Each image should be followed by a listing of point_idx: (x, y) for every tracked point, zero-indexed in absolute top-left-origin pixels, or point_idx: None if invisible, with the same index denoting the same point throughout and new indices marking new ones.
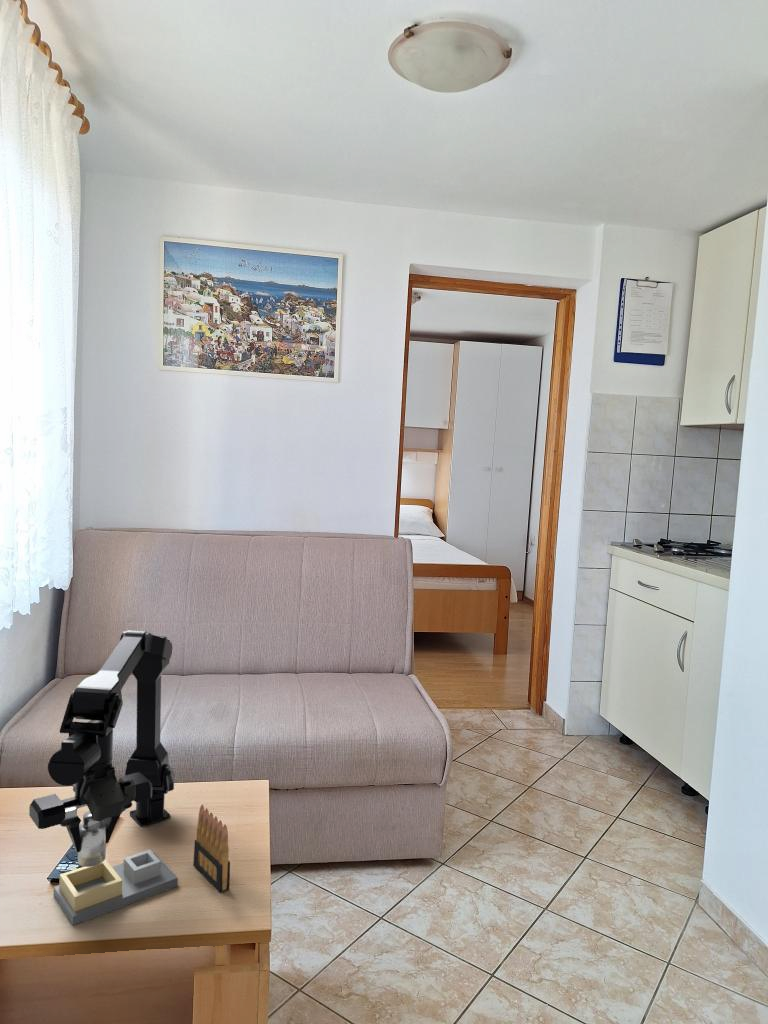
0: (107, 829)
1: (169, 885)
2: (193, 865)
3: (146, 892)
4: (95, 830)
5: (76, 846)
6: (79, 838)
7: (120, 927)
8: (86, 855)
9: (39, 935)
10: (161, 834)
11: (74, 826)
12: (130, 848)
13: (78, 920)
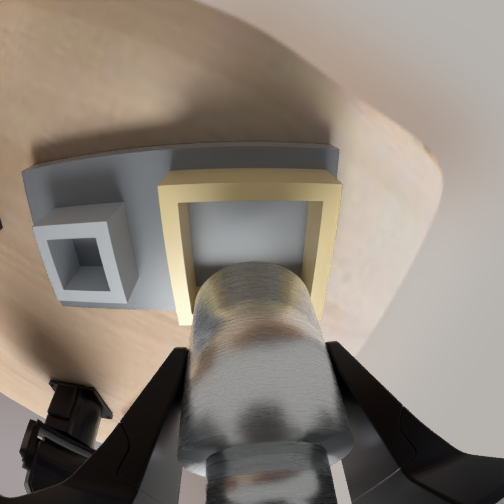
0: (172, 414)
1: (46, 163)
2: (2, 227)
3: (102, 154)
4: (279, 434)
5: (358, 364)
6: (361, 400)
7: (220, 52)
8: (306, 310)
9: (401, 163)
10: (59, 354)
11: (442, 467)
12: (114, 352)
13: (316, 145)
